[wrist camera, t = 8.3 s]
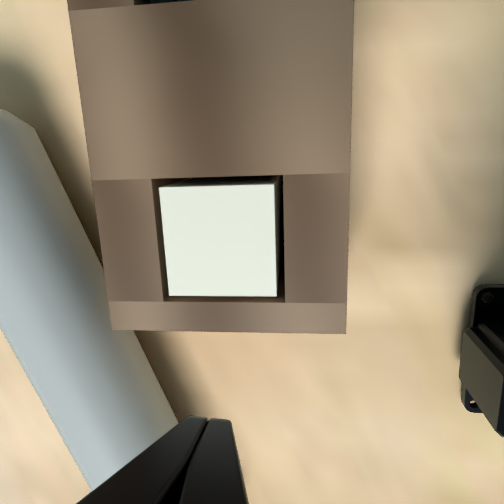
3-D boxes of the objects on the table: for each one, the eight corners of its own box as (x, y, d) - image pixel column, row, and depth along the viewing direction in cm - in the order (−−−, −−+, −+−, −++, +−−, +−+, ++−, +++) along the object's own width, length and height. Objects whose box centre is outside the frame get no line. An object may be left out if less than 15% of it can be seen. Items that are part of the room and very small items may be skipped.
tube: (-144, 138, 16) (121, 597, 21) (-90, 79, 14) (199, 619, 18) (-17, 127, 21) (178, 507, 26) (42, 81, 18) (248, 515, 23)
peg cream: (281, 173, 18) (273, 184, 13) (282, 258, 19) (276, 296, 15) (195, 176, 19) (158, 187, 14) (200, 259, 20) (169, 295, 15)
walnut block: (341, -138, 15) (360, -268, 10) (334, 287, 20) (346, 333, 15) (114, -111, 16) (37, -216, 12) (155, 286, 21) (112, 329, 16)
